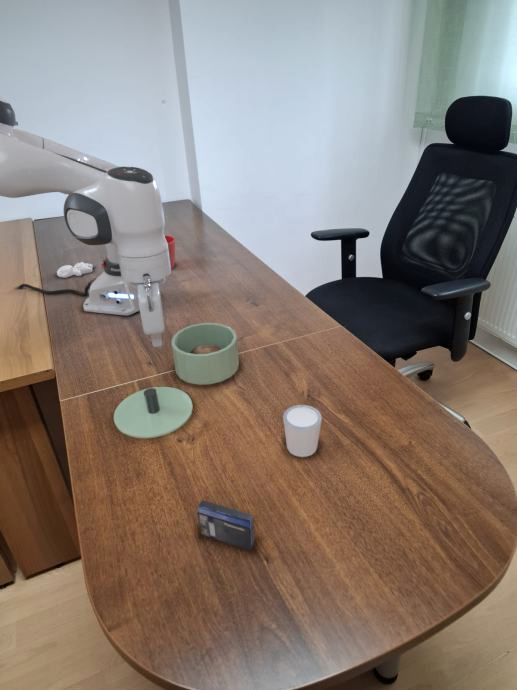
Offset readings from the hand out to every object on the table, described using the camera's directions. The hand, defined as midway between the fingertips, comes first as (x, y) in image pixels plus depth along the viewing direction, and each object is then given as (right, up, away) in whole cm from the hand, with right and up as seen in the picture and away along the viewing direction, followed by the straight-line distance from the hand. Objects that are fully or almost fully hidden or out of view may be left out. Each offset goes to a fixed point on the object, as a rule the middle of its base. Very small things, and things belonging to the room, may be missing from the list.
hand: (156, 332), depth 89 cm
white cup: (+28, -21, -4) cm, 35 cm away
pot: (+8, -8, +19) cm, 22 cm away
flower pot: (-14, +25, +75) cm, 80 cm away
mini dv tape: (+15, -31, -20) cm, 40 cm away
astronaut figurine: (-44, +23, +73) cm, 89 cm away
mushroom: (+8, -8, +19) cm, 22 cm away
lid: (-2, -16, +5) cm, 17 cm away
